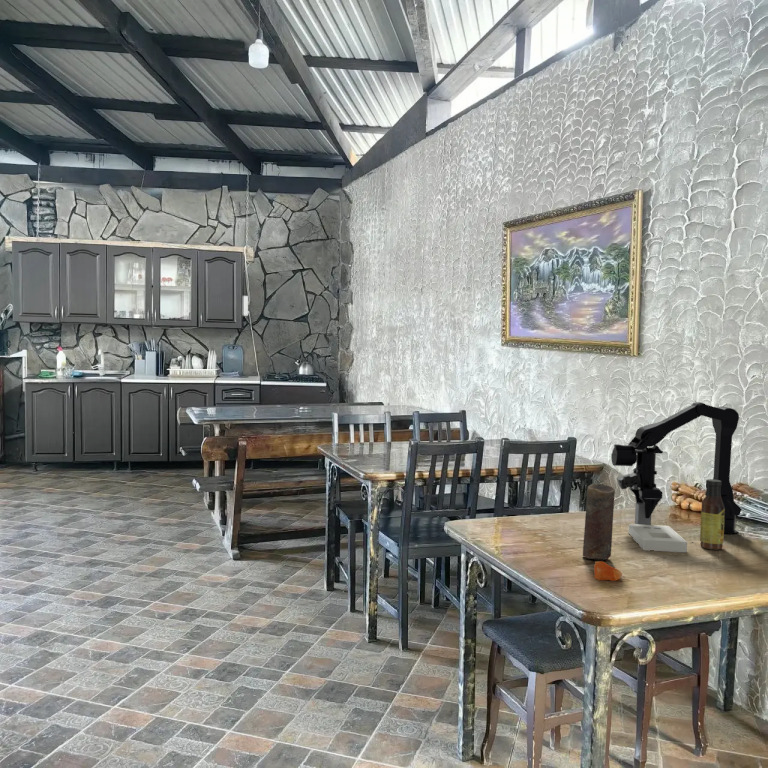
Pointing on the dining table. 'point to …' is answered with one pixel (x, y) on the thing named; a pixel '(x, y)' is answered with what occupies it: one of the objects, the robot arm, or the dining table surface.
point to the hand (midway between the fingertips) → (643, 514)
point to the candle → (598, 522)
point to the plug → (641, 515)
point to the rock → (606, 572)
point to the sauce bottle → (712, 517)
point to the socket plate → (657, 538)
